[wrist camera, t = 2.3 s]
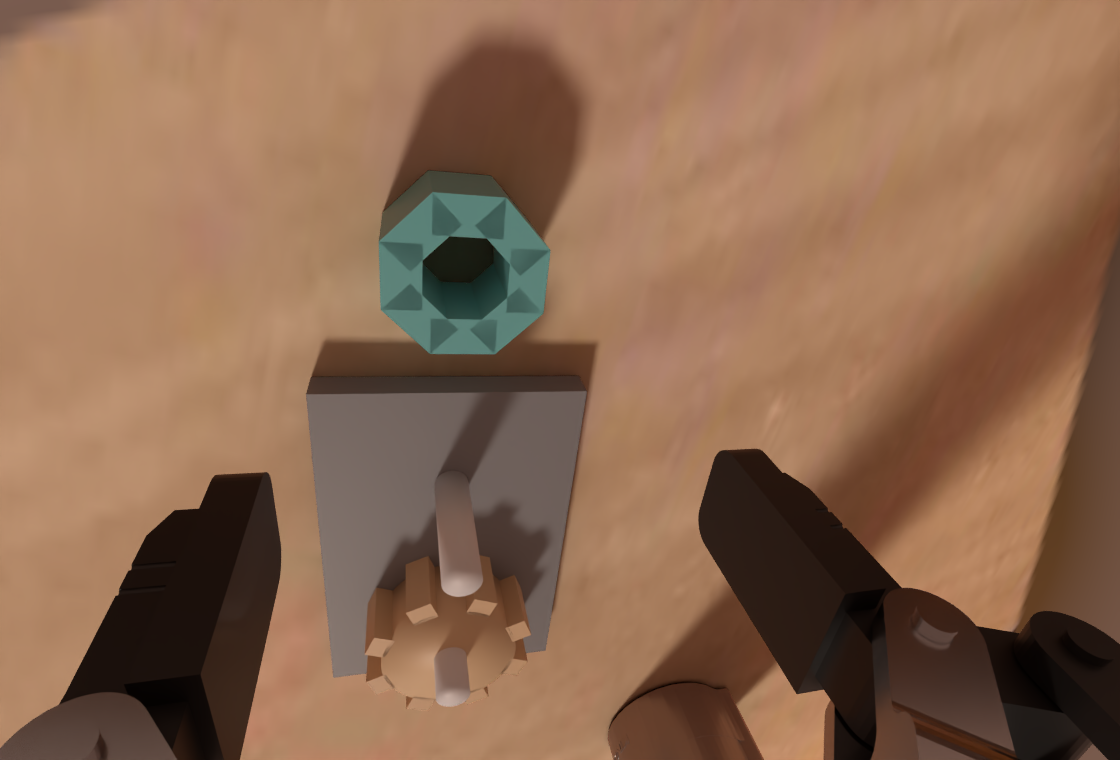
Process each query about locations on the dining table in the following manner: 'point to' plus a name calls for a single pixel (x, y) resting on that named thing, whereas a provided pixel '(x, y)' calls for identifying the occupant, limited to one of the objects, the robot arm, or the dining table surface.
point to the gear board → (401, 466)
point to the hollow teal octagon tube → (459, 307)
